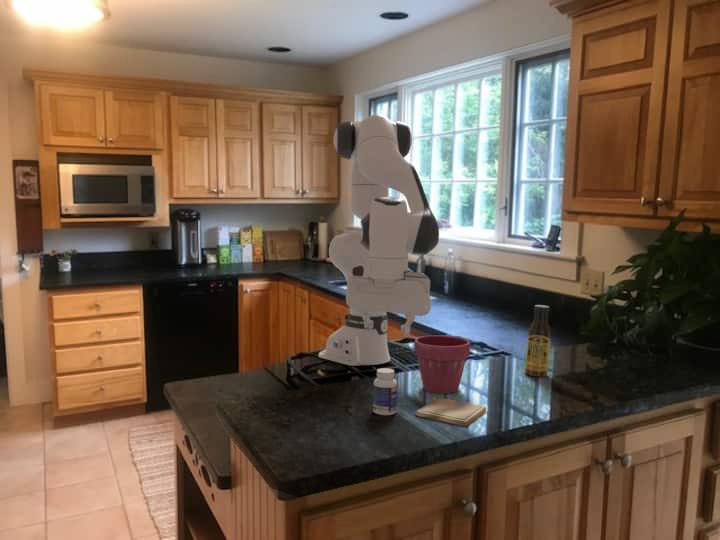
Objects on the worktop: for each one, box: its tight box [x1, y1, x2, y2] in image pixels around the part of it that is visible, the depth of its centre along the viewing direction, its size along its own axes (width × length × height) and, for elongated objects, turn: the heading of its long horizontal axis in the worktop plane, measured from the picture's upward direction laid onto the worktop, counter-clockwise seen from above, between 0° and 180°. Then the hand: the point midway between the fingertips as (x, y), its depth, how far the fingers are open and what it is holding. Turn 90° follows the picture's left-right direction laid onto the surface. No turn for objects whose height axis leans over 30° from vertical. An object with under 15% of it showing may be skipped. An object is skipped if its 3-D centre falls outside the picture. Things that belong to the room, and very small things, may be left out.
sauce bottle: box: [524, 304, 552, 378], centre depth 170 cm, size 6×6×20 cm
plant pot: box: [413, 334, 471, 394], centre depth 156 cm, size 14×14×13 cm
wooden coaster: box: [415, 397, 487, 427], centre depth 137 cm, size 12×12×1 cm
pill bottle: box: [372, 367, 398, 416], centre depth 137 cm, size 5×5×10 cm
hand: (386, 331), depth 136 cm, fingers open, 8 cm apart
